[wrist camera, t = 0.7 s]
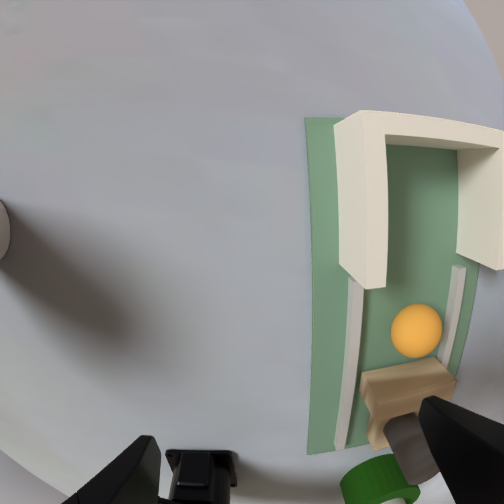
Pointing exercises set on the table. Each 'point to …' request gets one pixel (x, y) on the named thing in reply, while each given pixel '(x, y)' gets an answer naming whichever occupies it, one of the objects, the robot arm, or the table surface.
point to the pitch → (393, 247)
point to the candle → (378, 483)
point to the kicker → (404, 412)
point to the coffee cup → (4, 230)
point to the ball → (416, 330)
